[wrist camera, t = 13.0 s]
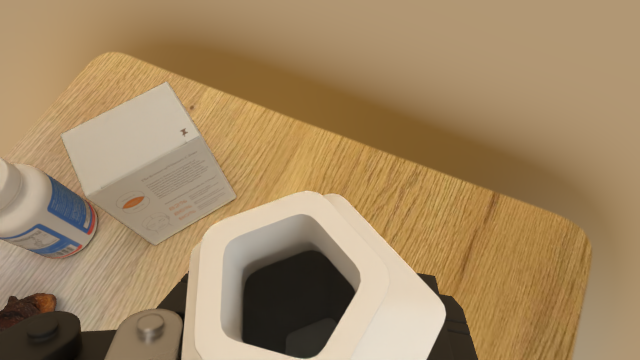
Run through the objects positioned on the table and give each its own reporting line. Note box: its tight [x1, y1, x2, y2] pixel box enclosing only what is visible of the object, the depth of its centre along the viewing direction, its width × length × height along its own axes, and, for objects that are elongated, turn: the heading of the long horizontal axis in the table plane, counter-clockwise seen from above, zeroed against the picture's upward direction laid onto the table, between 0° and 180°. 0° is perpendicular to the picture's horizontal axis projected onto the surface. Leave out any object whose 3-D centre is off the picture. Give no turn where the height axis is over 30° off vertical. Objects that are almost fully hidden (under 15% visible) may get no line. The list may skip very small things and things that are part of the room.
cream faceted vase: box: [181, 191, 446, 360], centre depth 11 cm, size 5×4×15 cm
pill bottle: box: [0, 158, 97, 258], centre depth 30 cm, size 6×5×10 cm
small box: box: [61, 82, 236, 245], centre depth 31 cm, size 8×6×10 cm
